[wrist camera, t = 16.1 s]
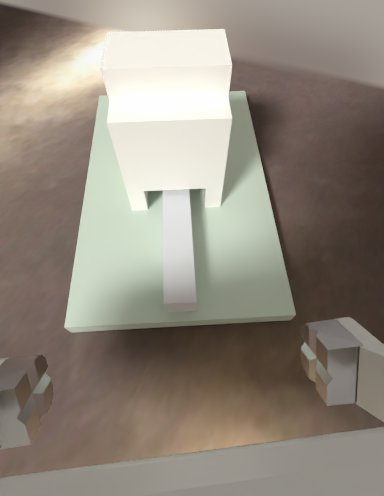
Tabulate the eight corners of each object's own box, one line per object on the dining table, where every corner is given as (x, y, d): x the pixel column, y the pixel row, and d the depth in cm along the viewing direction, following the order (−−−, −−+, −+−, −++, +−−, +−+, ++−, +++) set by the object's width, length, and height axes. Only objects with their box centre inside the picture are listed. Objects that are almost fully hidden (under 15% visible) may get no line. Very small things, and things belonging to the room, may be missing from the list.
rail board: (290, 320, 17) (305, 306, 15) (71, 332, 16) (53, 319, 14) (243, 101, 26) (247, 74, 24) (102, 106, 26) (94, 79, 23)
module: (220, 206, 19) (236, 86, 12) (132, 210, 19) (97, 90, 12) (213, 153, 21) (224, 26, 15) (134, 156, 21) (107, 30, 14)
